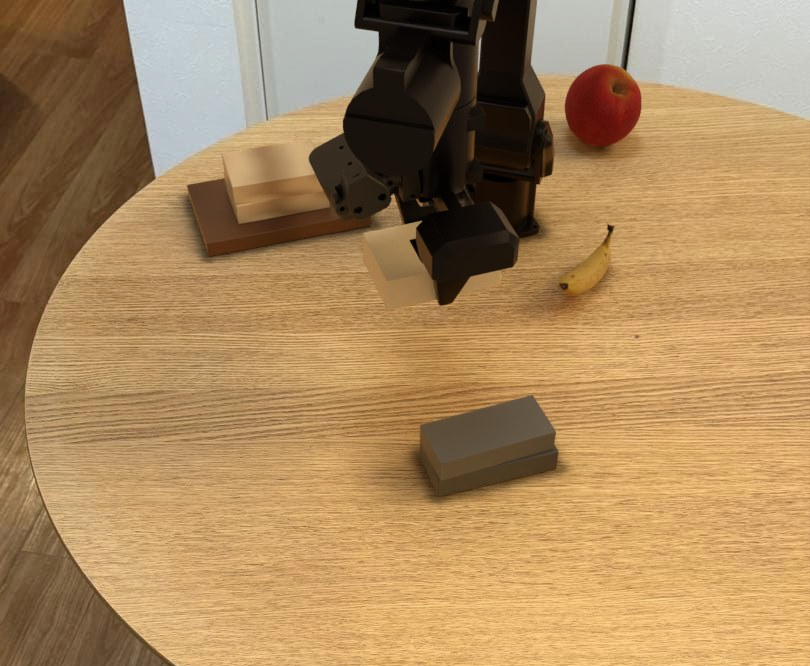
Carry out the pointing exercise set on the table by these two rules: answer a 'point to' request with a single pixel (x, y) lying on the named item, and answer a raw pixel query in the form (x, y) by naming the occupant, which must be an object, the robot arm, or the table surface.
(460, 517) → the table surface
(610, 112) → the apple
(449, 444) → the grey books
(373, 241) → the cream book
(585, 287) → the banana
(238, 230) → the shelf board
